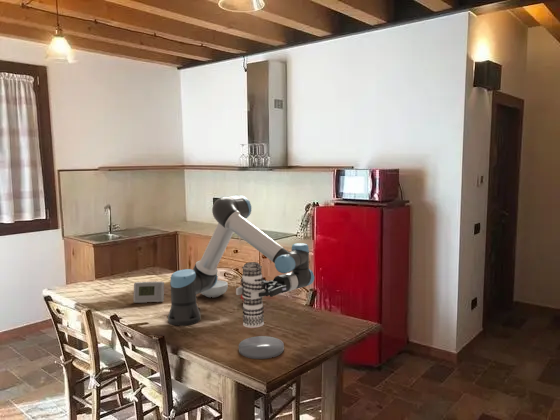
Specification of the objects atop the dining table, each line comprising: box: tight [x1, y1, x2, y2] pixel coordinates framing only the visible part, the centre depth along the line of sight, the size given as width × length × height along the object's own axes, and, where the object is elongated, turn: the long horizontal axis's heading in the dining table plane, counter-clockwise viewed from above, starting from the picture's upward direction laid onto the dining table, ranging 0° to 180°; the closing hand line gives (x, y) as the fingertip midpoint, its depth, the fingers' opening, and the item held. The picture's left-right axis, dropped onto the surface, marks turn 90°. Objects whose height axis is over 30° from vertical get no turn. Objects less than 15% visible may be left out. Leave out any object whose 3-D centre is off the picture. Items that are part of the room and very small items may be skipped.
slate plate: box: [238, 335, 285, 360], centre depth 182 cm, size 18×18×2 cm
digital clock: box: [133, 281, 165, 304], centre depth 247 cm, size 16×9×11 cm, turn 83°
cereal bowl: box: [200, 279, 229, 298], centre depth 257 cm, size 17×17×7 cm
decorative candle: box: [240, 261, 265, 329], centre depth 183 cm, size 9×9×25 cm
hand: (243, 293), depth 180 cm, fingers closed on decorative candle, 8 cm apart
